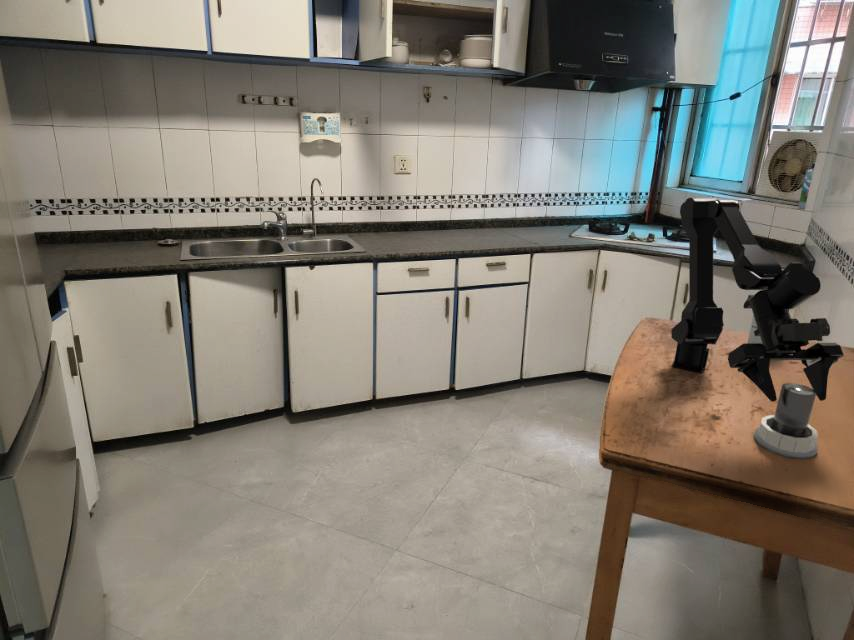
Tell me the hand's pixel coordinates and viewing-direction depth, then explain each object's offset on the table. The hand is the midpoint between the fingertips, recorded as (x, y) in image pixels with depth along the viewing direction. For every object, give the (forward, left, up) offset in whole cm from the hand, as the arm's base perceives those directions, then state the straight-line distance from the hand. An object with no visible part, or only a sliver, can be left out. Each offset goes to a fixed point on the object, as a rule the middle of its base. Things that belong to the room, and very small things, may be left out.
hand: (798, 400), depth 104 cm
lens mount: (0, 0, -9) cm, 9 cm away
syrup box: (-5, +53, -9) cm, 55 cm away
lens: (0, +1, -8) cm, 8 cm away
